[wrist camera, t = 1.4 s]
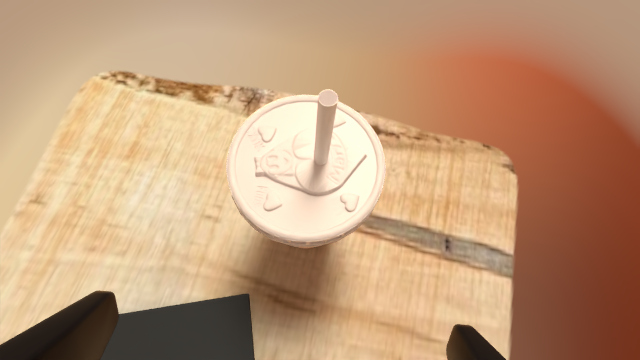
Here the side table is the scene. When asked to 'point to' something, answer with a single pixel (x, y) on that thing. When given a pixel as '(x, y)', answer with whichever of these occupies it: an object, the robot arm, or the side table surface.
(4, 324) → the side table surface
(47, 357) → the robot arm
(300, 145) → the smoothie
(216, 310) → the coaster
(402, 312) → the side table surface
